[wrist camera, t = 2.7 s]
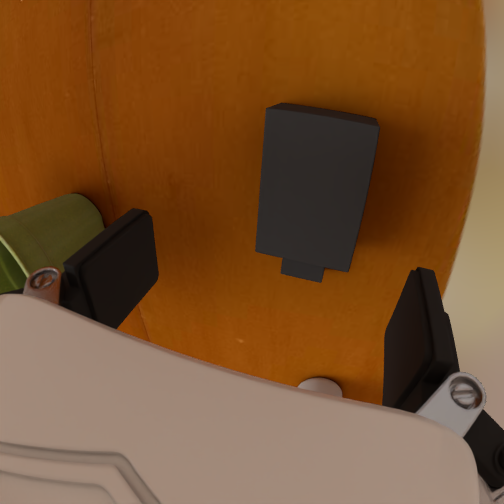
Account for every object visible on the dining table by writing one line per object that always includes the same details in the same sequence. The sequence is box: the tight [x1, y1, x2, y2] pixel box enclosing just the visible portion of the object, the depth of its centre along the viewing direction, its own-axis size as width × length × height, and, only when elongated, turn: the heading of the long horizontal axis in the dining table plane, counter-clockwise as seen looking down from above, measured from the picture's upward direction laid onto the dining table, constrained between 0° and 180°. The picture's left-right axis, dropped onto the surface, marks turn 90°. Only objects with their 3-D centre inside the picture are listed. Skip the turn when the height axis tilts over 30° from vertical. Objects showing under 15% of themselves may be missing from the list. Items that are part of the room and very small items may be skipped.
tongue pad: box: [255, 103, 380, 283], centre depth 20 cm, size 6×12×4 cm, turn 176°
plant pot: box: [0, 193, 105, 294], centre depth 25 cm, size 12×12×11 cm
